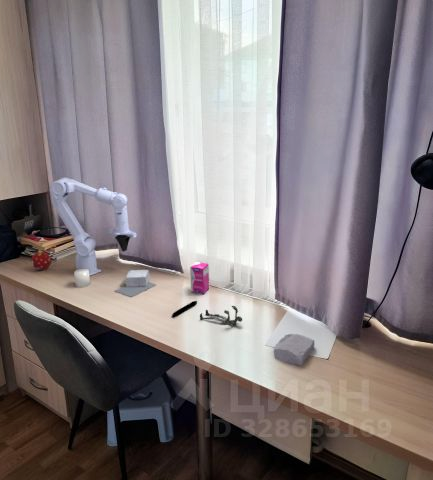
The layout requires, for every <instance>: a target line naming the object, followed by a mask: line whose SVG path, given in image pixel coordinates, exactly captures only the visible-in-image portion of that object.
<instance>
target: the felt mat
mask: <svg viewBox="0 0 433 480" xmlns="http://www.w3.org/2000/svg"><path fill="white" fill-rule="evenodd" d="M155 286H157V284H156V283H152V282H149V281H148V284H147V286H139V287H126V285H124V286H122V287H120V288H118V289H115V290H114V292H115V293H118V294H120V295H121V294H122V295H123V296H127V297H129V298H133V297H135V296H137V295H139V294H141V293H143V292H145V291H148V290H149V289H152V288H153V287H155Z"/></svg>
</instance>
